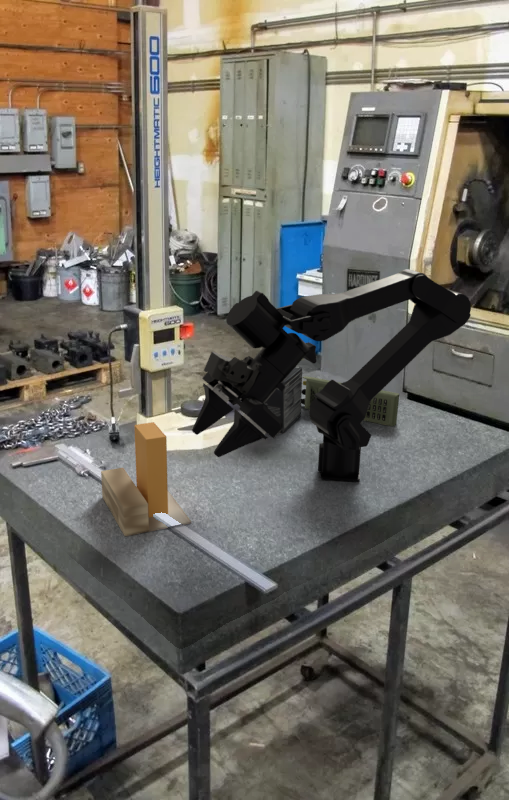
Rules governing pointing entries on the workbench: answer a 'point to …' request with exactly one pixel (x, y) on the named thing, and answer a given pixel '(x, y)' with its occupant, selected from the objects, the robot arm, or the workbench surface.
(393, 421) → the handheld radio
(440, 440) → the workbench surface
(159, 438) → the orange l-shaped bookend
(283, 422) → the small box
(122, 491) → the wooden block on plate
